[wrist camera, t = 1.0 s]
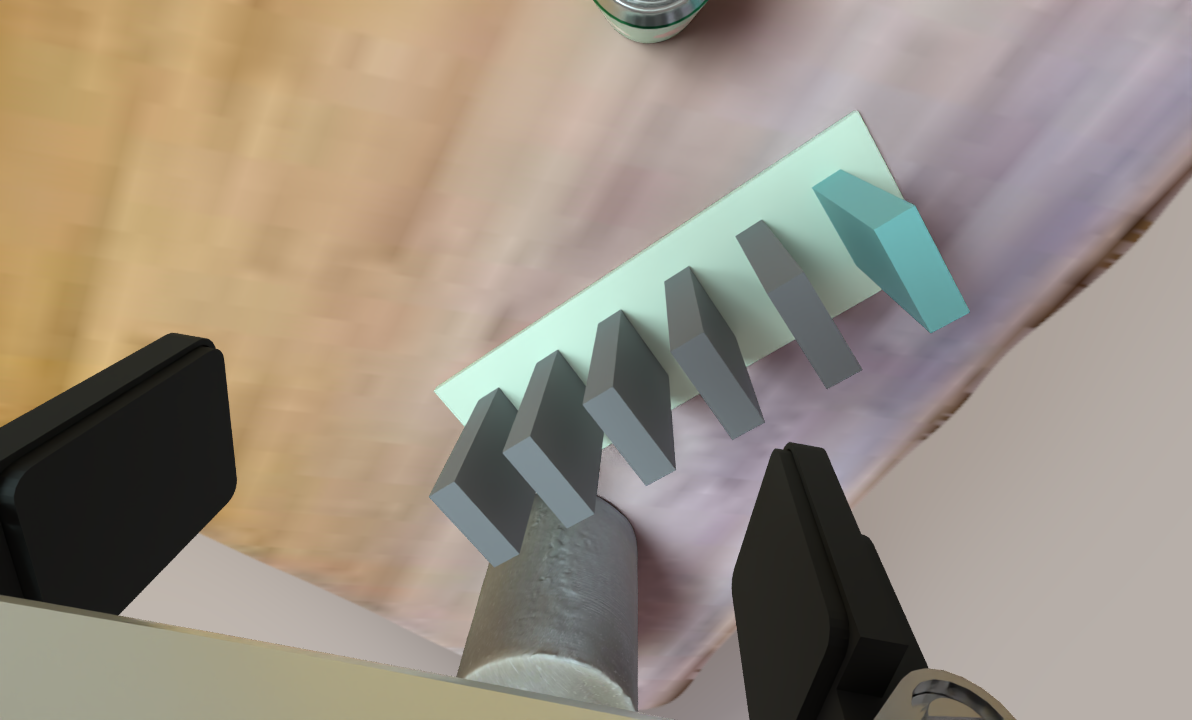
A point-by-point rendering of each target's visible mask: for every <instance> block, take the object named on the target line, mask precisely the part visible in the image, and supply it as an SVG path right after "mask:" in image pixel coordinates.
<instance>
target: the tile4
mask: <svg viewBox="0 0 1192 720" xmlns="http://www.w3.org/2000/svg"><path fill="white" fill-rule="evenodd" d="M582 405H583V406H584V407H585V409H586V410H587V411H588V412H589V414H590V415H591V416H592V418H593V419H594V420H595V421H596V423H597V424H598V425H599V427H600V428H601V429H602V430H603V432H604V433H605V434H606V435H607V437H608V438H609V439H610V441H611V442H612V443H613V444H614V446H615V447H616V448H617V450H618V451H619V452H620V453H621V455H622V456H623V457H624V458H625V460H626V461H627V462H628V464H629V465H630V466H631V467H632V469H633V470H634V471H635V473H636V474H637V475H638V476H639V478H640V479H641V480H642V482H643V483H644V484H645V485H646V486H647V485H649V484H651V483H653V482H655V481H657V480H658V479H660V478H662V477H664V476H666V475H668V474H670V473H671V472H673V471H675V470H676V465H675V452H674V438H673V425H672V412H671V398H670V385H669V375H668V374H667V373H666V371H665V370H664V368H663V367H662V366H661V364H660V363H659V361H658V360H657V359H656V357H655V356H654V354H653V353H652V352H651V350H650V349H649V347H648V346H647V345H646V343H645V342H644V340H643V339H642V338H641V336H640V335H639V333H638V332H637V331H636V329H635V328H634V326H633V325H632V324H631V322H630V321H629V320H628V318H627V317H626V315H625V314H624V313H623V311H622V310H621V309H620V310H619V311H617V312H616V313H614V314H613V315H611V316H609V317H608V318H606V319H605V320H603V321H602V322H600V323H598V327H597V332H596V337H595V342H594V347H593V352H592V358H591V363H590V368H589V373H588V378H587V384H586V389H585V394H584V399H583V404H582Z"/></svg>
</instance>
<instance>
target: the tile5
mask: <svg viewBox="0 0 1192 720" xmlns="http://www.w3.org/2000/svg"><path fill="white" fill-rule="evenodd" d="M585 389H586V385H585V384H584V383H583V381H582V380H581V379H580V378H579V376H578V375H577V374H576V372H575V371H574V370H573V368H572V367H571V366H570V365H569V363H568V362H567V361H566V359H565V358H564V357H563V355H562V354H561V353H560V352H559V350H556V351H555V352H553V353H551V354H550V355H548V356H547V357H545V358H544V359H542V360H540V361H539V362H537V363H536V365H535V368H534V371H533V373H532V376H531V378H530V381H529V384H528V386H527V389H526V392H525V394H524V397H523V399H522V402H521V405H520V407H519V410H518V413H517V415H516V418H515V420H514V423H513V426H512V428H511V431H510V434H509V436H508V439H507V441H506V444H505V447H504V449H503V452H502V453H503V454H504V455H505V457H506V458H507V459H508V460H509V461H510V462H511V464H512V465H513V466H514V467H515V468H516V469H517V471H518V472H519V473H520V474H521V475H522V476H523V478H524V479H525V480H526V481H527V482H528V483H529V485H530V486H531V487H532V488H533V489H534V490H535V492H536V493H537V494H538V495H539V496H540V497H541V499H542V500H543V501H544V502H545V503H546V504H547V506H548V507H549V508H550V509H551V510H552V512H553V513H554V514H555V515H556V516H557V517H558V519H559V520H560V521H561V522H562V523H563V524H564V526H565V527H566V528H569V527H571V526H573V525H575V524H576V523H578V522H580V521H582V520H584V519H586V518H588V517H589V516H591V515H593V514H594V513H595V504H596V496H597V487H598V479H599V471H600V462H601V454H602V445H603V437H604V432H603V430H602V429H601V428H600V427H599V425H598V424H597V423H596V421H595V420H594V419H593V418H592V416H591V415H590V414H589V412H588V411H587V410H586V409H585V407H584V406H583V405H582V404H583V399H584V394H585Z"/></svg>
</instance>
